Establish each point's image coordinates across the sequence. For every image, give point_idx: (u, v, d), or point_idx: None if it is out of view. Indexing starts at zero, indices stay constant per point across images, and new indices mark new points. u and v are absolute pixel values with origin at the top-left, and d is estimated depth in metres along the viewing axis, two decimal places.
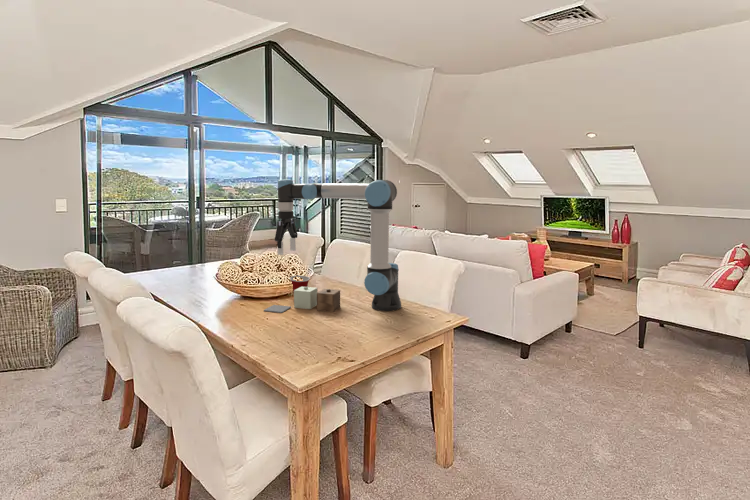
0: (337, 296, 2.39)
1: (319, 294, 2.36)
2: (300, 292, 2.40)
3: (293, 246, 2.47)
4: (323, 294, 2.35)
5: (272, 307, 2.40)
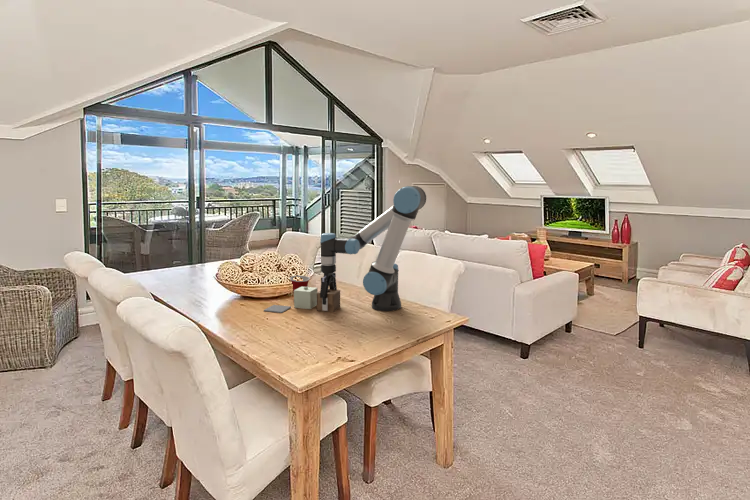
0: (337, 296, 2.39)
1: (319, 294, 2.36)
2: (300, 292, 2.40)
3: None
4: None
5: (272, 307, 2.40)
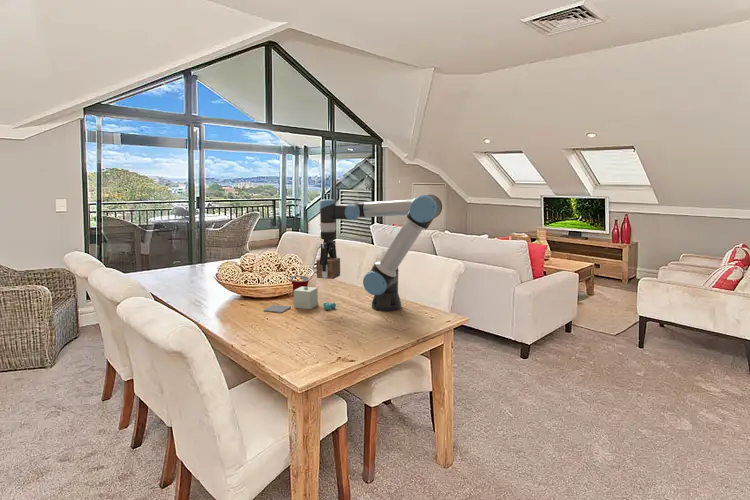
0: (337, 263, 2.36)
1: (319, 261, 2.33)
2: (300, 292, 2.40)
3: None
4: None
5: (272, 307, 2.40)
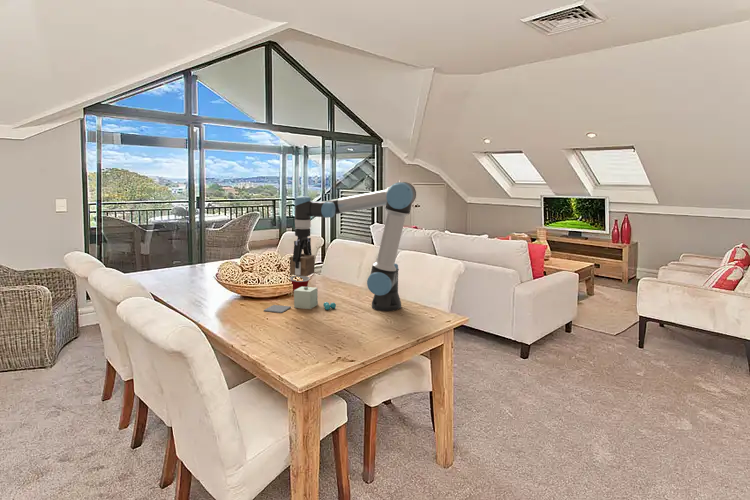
0: (311, 261, 2.36)
1: (292, 258, 2.33)
2: (300, 292, 2.40)
3: None
4: None
5: (272, 307, 2.40)
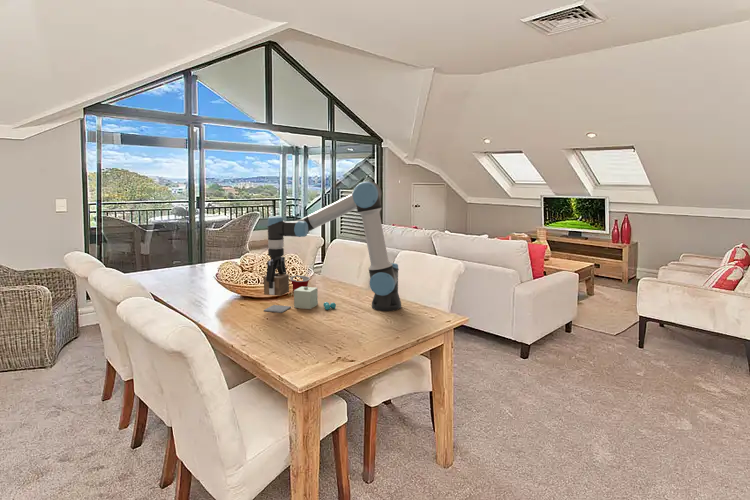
0: (285, 280, 2.36)
1: None
2: (300, 292, 2.40)
3: None
4: None
5: (272, 307, 2.40)
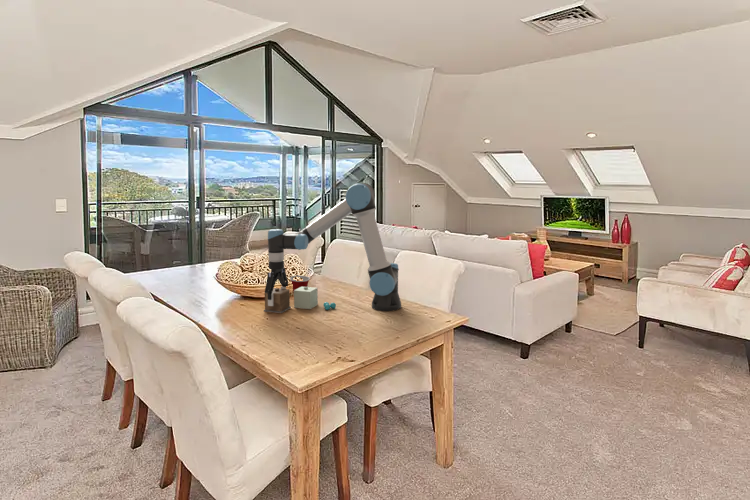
0: (286, 295, 2.37)
1: None
2: (300, 292, 2.40)
3: None
4: None
5: None
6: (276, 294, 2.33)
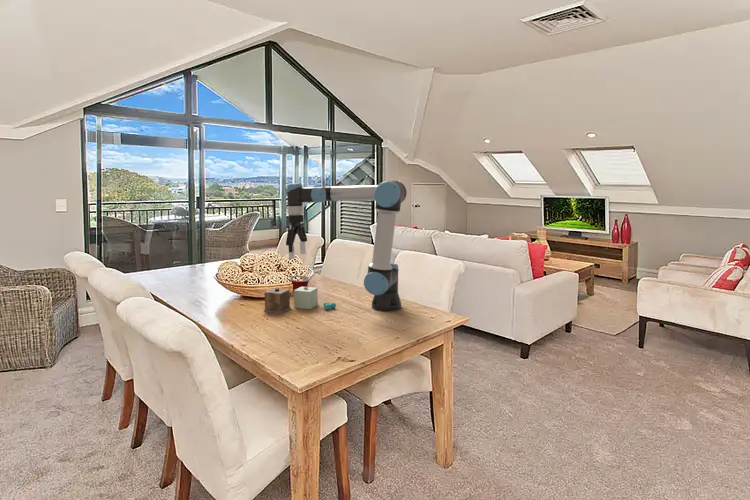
0: (286, 295, 2.37)
1: (267, 293, 2.34)
2: (300, 292, 2.40)
3: (303, 250, 2.46)
4: (271, 293, 2.34)
5: None
6: (276, 294, 2.33)
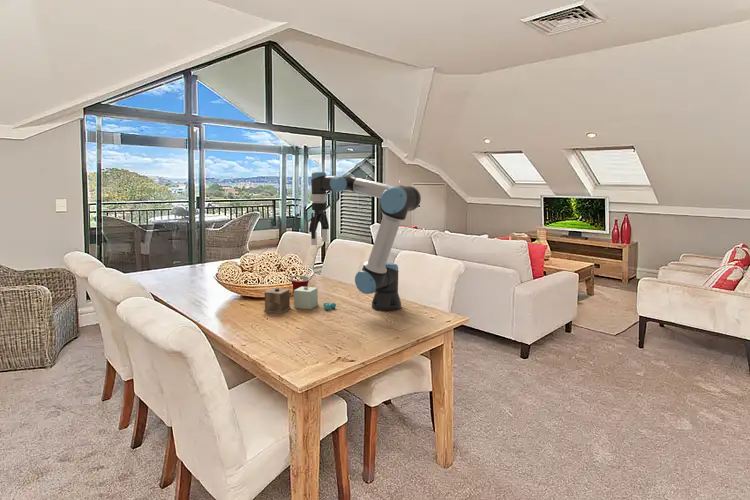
0: (286, 295, 2.37)
1: (267, 293, 2.34)
2: (300, 292, 2.40)
3: (325, 237, 2.53)
4: (271, 293, 2.34)
5: None
6: (276, 294, 2.33)
